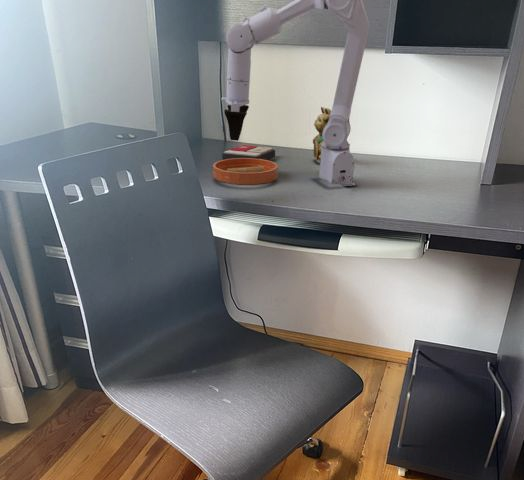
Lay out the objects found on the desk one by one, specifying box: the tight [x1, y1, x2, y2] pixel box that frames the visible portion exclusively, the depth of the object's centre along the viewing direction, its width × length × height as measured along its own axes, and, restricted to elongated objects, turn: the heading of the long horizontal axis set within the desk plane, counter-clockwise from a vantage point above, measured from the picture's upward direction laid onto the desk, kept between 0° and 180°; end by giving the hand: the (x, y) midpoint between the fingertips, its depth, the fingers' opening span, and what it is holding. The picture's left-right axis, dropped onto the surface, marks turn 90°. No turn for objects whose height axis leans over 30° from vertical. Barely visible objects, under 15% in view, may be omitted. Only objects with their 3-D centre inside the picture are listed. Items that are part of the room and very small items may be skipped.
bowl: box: [212, 158, 279, 186], centre depth 141 cm, size 17×17×4 cm
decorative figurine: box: [312, 106, 332, 164], centre depth 158 cm, size 10×8×15 cm
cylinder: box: [227, 166, 264, 173], centre depth 141 cm, size 10×2×2 cm, turn 109°
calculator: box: [221, 144, 276, 161], centre depth 158 cm, size 11×4×15 cm
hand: (235, 137), depth 142 cm, fingers open, 7 cm apart
